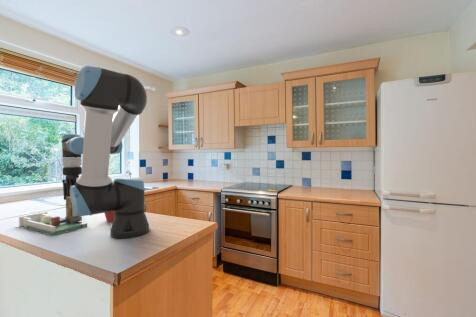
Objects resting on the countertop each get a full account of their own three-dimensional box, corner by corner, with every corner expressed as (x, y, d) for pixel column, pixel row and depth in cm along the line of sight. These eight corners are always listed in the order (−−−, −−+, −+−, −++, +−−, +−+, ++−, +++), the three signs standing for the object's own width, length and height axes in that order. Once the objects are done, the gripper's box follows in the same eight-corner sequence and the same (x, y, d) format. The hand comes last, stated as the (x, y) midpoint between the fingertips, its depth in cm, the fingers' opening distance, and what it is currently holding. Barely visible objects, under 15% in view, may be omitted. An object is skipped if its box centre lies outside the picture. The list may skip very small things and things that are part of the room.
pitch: (81, 228, 108) (81, 218, 108) (53, 235, 98) (53, 224, 98) (46, 220, 122) (46, 211, 122) (19, 226, 112) (18, 216, 112)
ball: (54, 223, 111) (53, 214, 111) (44, 225, 108) (43, 216, 108) (49, 222, 113) (49, 213, 113) (39, 224, 110) (39, 215, 109)
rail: (87, 226, 111) (87, 223, 111) (81, 227, 109) (81, 224, 109) (59, 220, 122) (59, 217, 122) (53, 221, 119) (53, 218, 119)
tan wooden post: (81, 220, 114) (81, 195, 114) (56, 226, 105) (55, 199, 104) (74, 219, 117) (74, 194, 117) (49, 225, 107) (48, 198, 107)
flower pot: (117, 223, 115) (116, 203, 115) (97, 222, 117) (97, 202, 117) (131, 217, 125) (131, 199, 125) (113, 216, 127) (112, 198, 127)
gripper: (90, 166, 113) (91, 215, 113) (70, 165, 120) (71, 211, 121) (73, 167, 106) (75, 219, 106) (53, 166, 114) (55, 215, 114)
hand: (73, 215), depth 114 cm, fingers closed on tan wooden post, 4 cm apart
